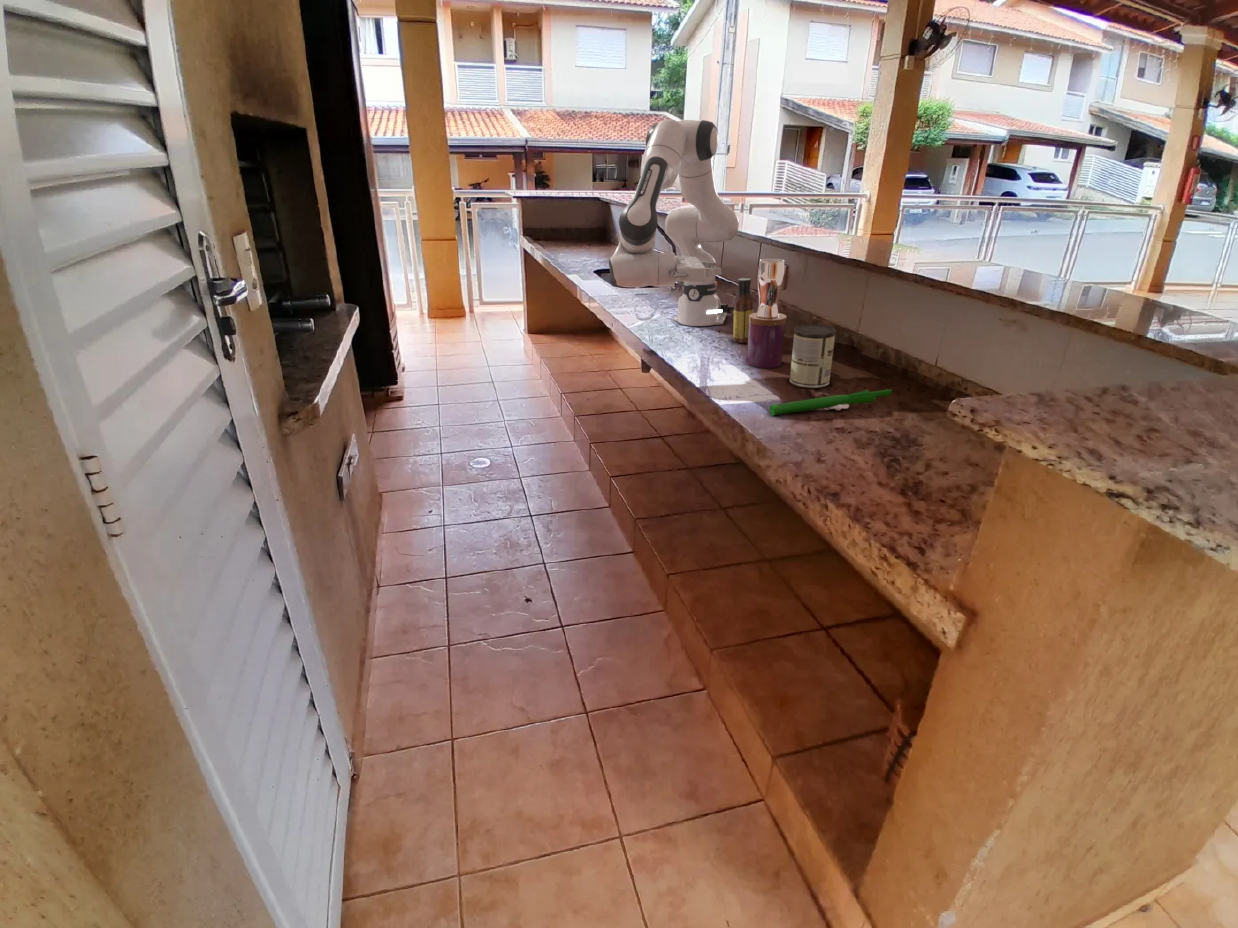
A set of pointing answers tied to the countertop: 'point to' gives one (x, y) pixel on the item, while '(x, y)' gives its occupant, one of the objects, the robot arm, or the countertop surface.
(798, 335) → the coffee can
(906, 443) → the countertop surface
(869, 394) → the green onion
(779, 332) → the jar
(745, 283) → the sauce bottle
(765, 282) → the metal cocktail shaker
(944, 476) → the countertop surface
